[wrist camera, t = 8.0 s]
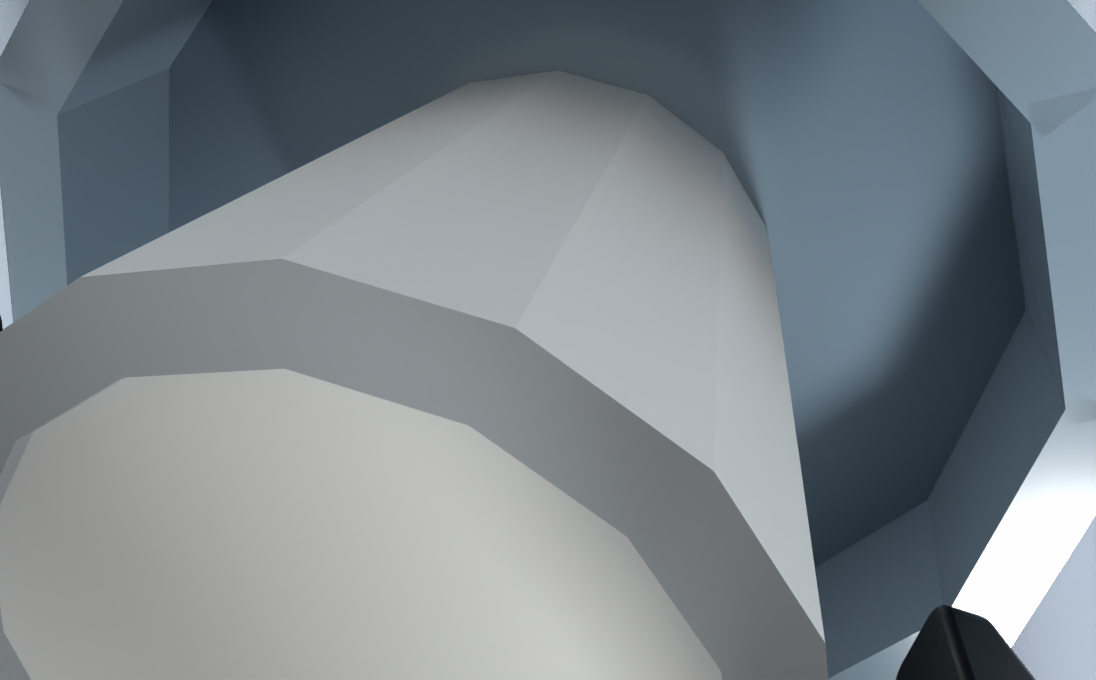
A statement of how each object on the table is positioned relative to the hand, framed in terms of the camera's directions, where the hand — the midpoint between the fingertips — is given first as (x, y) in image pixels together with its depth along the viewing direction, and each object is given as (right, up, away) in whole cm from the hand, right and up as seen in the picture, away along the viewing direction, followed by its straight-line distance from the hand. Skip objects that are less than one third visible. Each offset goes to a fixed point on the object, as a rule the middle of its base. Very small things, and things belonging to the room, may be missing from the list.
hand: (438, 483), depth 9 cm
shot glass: (+1, +2, +4) cm, 5 cm away
